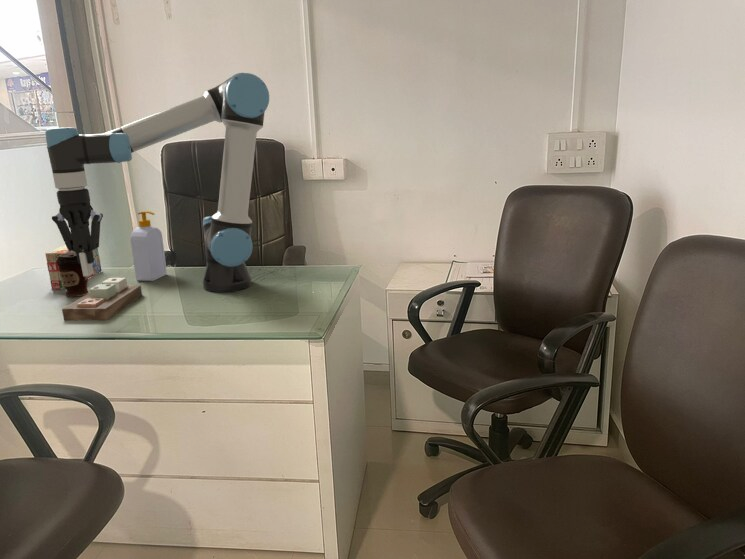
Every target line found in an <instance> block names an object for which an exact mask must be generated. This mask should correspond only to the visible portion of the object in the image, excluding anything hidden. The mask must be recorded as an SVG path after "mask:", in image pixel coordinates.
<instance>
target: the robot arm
mask: <svg viewBox="0 0 745 559" xmlns="http://www.w3.org/2000/svg"><path fill="white" fill-rule="evenodd" d="M269 103H270V91H269V89H268V86H267V85H266V83H265V82H264V81H263V79H261V78H260V77H259V76H257V75H256V74H253V73H249V72H238V73H236V74H233V75H232V76H230V77H229V78H227V79H226V80H225V81H223V82H222V83H220V84H219V85H216V86H215V87H212V88H209V89H208V90H205V91H204V94H203V95H201V96H199V97H197V98H194V99H191V100H189V101H186V102H183V103H180V104H178V105H174V106H173V107H170V108H168V109H165V110H163V111H159V112H156V113H154V114H152V115H149V116H146V117H143V118H141V119H139V120H135V121H133V122H130V123H128V124H125V125H123V126H121V127H118V128H115V129H112V130H109V131H105V132H103V133H93V134H82V133H81V134H80V132H79V131H78V128H76V127H74V126H72V127H67V126H66V127H49V128H47V129H46V130H45V141H46V148H47V153H48V157H49V158H48V159H49V162H50V166H51V167H50V168H51V172H52V178H53V182H54V183H53V184H54V187H55V189H57V191H55V192H56V197H57V202H58V205H59V210H58V213H57V214H55V215H52V216H51V220H52V221H53V223H55V225H56V226H57V228H58V230H59V233H60V235H61V238H62V240H63V242H64V245H66V247H67V249H68V250H69V251H71V250H72V251H74V252H76V256H77V261H78V263H79V264H81V267H82V272H83V276H90V275H92V274H94V272H93V267H92V263H93V262H94V257H93V250H94V249H96V248H98V249H99V248H100V247H99V246H100V235H101V221H102V219H103V217H104V214H103V213H101V212H100V213H99V212H96V211H95V210H94V208H93V207H92V204H91V198H90V197H91V196H90V192H89V188H87V186H88V182H87V176H86V171H85V165H91V164H109V163H110V164H115V163H118V164H121V163H125V162H126V163H127V162H131V161H132V159H133V154H132V153H134V152H137V151H140V150H142V149H145V148H147V147H151V146H153V145H156V144H158V143H161V142H163V141H167V140H169V139H170V138H173V137H176V136H179V135H182V134H184V133H187V132H189V131H191V130H195V129H197V128H199V127H202V126H204V125H207V124H209V123H213V122H217V123H222V124H223V125H224V126H225V132H224V133H225V134H224V144H223V153H222V164H221V174H220V176H221V177H220V184H219V194H218V196H219V198H218V204H217V210H216V212H215V213H214V214H213V215H211V216H210V215H209V216H205V217H203V219H202V230H203V236H204V237H203V238H204V249H205V258H206V259H205V260H206V266H205V270H204V276H203V279H202V280H203V281H202V285H203V289H204V290H206V291H209V292H215V293H219V292H220V293H223V292H224V293H227V292H235V290H236V291H239V289H240V290H243V288H244V289H246V288H249V287H250V286H251V285H252V277H251V273H250V272H249V270H248V267H247V265H246V263H245V262H246V261H248V259H249V258H250V257H251V255H252V252H253V246H254V245H253V241H252V229H253V220H252V219H251V217H249V205H250V197H251V189H252V188H251V187H252V180H253V170H254V161H255V151H256V142H257V133H258V132H259V131H260V130H261V129H262V128H264V121H265V113H266V111H267V110H268V106H269ZM90 219H91V223H90ZM83 250H84V251H83ZM250 284H251V285H250ZM249 285H250V286H249ZM245 287H246V288H245Z"/></svg>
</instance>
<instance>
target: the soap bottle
mask: <svg viewBox="0 0 745 559" xmlns="http://www.w3.org/2000/svg"><path fill="white" fill-rule="evenodd" d="M147 214H149V215H152V216H154V215H155V212H152V211H149V210H145V211H141V212H138V213H137V215H141V219H140V220H138V223H139V226H137V227H135V228H134V229H133V230H132V232H131V234H130V245H131V252H132V254H131V255H132V260H133V267H134V274H135V280H136V281H141V282H142V281H145V282H147V281H148V282H155V281H156V280H159V279H160V278H162V277H164V276H167V273H168V272H167V271H168V270H167V264H166V256H165V255H166V254H165V246H164V241H163V240H164V238H163V234H162V230H160V228H158V227H156V226H155V227H153V226H152V224H151V219H147Z"/></svg>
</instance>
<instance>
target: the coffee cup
mask: <svg viewBox="0 0 745 559" xmlns="http://www.w3.org/2000/svg"><path fill="white" fill-rule="evenodd" d="M56 263H57V265H58V266H59V272H60V276H61V279H62V282H63V286H64V287H65V288H66V289H65V291H66V292H65V296H66V297H69V298H70V297H73V298H74V297H81V296H82V297H83V296H85V295H87V294H89V293H90V291H89V290H88V281H89V279H88V276H83V272H82V267H81V264H79V263H78V261H77V256H76V253H66V254H60V255H58V259H57V261H56Z"/></svg>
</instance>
